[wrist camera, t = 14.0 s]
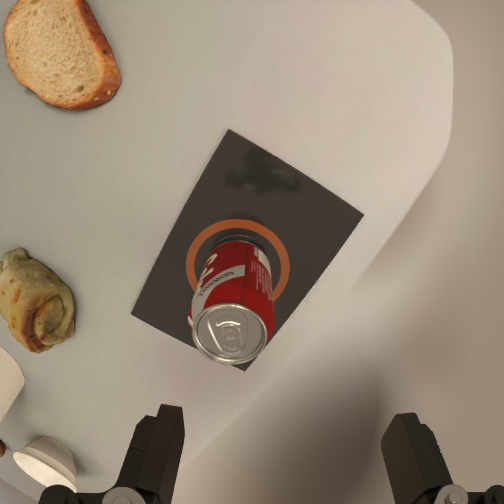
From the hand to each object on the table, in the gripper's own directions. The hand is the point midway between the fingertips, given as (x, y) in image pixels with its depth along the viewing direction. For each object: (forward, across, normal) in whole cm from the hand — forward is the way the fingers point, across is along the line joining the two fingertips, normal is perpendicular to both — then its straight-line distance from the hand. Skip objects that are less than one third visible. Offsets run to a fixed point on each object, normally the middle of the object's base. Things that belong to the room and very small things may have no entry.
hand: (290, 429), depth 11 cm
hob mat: (+24, +3, +5) cm, 25 cm away
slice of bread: (+24, +25, -21) cm, 40 cm away
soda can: (+24, +3, +5) cm, 25 cm away
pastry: (+24, +30, +12) cm, 40 cm away
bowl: (+23, +42, +54) cm, 72 cm away
